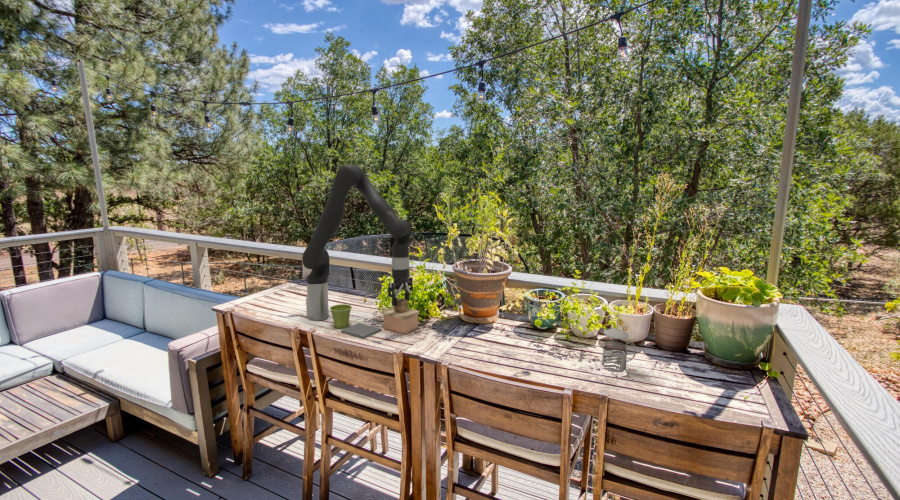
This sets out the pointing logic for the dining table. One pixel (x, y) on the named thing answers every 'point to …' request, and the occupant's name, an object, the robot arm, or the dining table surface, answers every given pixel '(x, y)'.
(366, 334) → the mat
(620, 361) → the french press
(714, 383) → the dining table surface
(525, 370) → the dining table surface
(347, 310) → the plant pot
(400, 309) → the lid
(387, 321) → the box
